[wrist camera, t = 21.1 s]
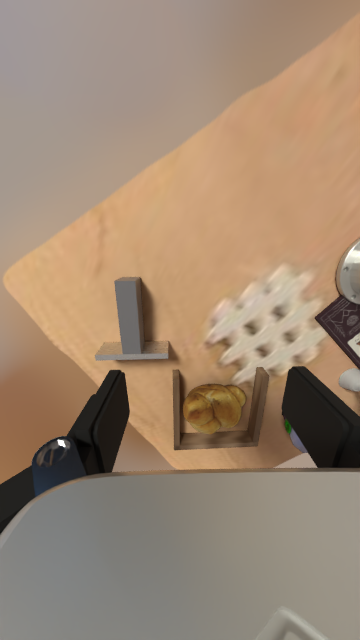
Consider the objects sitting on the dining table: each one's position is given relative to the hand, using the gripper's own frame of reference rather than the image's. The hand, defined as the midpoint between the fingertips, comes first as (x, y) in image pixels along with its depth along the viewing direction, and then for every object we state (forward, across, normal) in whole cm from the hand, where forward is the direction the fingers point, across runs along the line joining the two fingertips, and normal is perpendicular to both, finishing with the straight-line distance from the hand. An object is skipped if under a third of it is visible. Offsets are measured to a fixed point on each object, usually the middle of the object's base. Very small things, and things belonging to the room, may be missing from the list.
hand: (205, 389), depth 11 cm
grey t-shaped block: (+24, +10, +2) cm, 26 cm away
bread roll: (+25, -5, +22) cm, 34 cm away
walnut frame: (+25, -6, +24) cm, 35 cm away
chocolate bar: (+27, -34, +8) cm, 44 cm away
